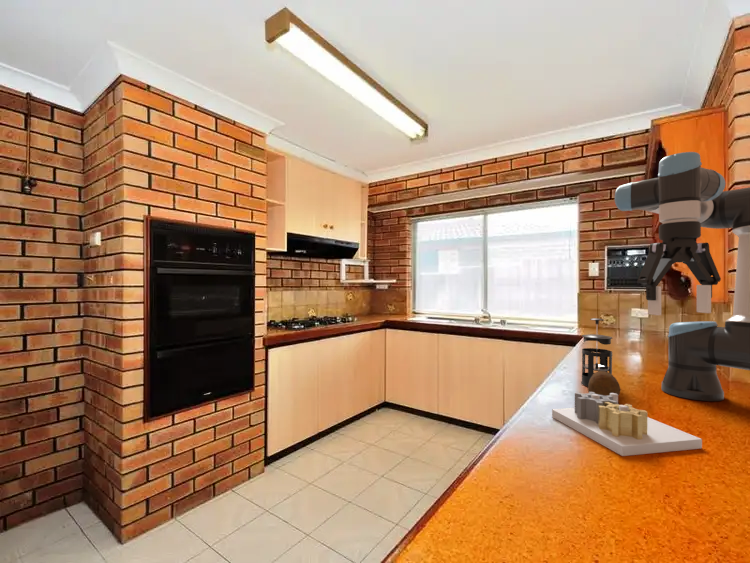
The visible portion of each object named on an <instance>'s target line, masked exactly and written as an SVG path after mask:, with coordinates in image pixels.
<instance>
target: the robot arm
mask: <svg viewBox="0 0 750 563" xmlns="http://www.w3.org/2000/svg"><path fill="white" fill-rule="evenodd" d="M701 160H702V159H701V154H700V153H699V152H695V151H684V152H678V153H674V154H670V155H669V154H668V155H667V156H664V157H663V158H662V159H660V161H659V163H658V172H657V173H658V174H657V177H654V178H649V179H644V180H643V179H642V180H638V181H633V182H632V181H631V182H628V183H625V184H622V185H619V186H618V187H617V188H616V190H615V192H614V203H615V206H616V208H617V209H618V210H620V211H621V212H627V211H629V212H632V211H637V210H640V211H644V212H645V211H646V212H650V213H653V214H658V218H659V219H658V222H660V223H661V224H660V225H659V226H658V238H659V241H662V242H655V243H654V242H653V243H650V244H649V247H648V248H649V250H648V253H647V257H646V260H645V262H644V264H643V266H642V267H641V268H642V269H641V271H640V274H638V275H639V276H638V278H637V280H636V282H637V284H640V285H641V286H642V287H645V299H646V300H647V315H653V316H662V286H658V285H659V284H660V283H661V281H662V280H663V279H664V277H665V276H666V274H667V273H668V272H669V270H670V269H671V267H672V265H675V264H677V263H682V264H684V265H686V266H687V268H688V270H689V271H690V272H691V273H692V275H693V276H694V278H695V280H697V281H698V282H699V284H696V313H703V314H712V298H713V286H717V285H718V284H719V282H721V280H722V278H721V276H720V273H719V270H718V269H717V266H716V264H715V261H714V259H713V257H712V254H711V251H710V244H709V243H710V242H699V243H698V242H697V239H699V238H700V237H701V236H702V234H701V233H702V228H705V229H707V228H708V229H716V230H717V229H719V230H720V229H722V230H723V229H732V231H731V232H732V233H733V234H734V235H735V236H737V237H738V242H737V255H736V257H737V258H736V269H735V270H736V271H735V272H736V273H735V281H734V284H735V285H734V296H733V297H734V298H733V310H732V315H731V317H729V318H727V319H726V320H725V323H724V327H723V326H719V325H718V323H717V321H712V320H711V321H710V320H709V321H707V320H706V321H704V320H703V321H700V320H699V321H681V322H673V323H671V324H670V325H669V326H668V335H667V337H668V346H667V347H668V350H667V352H668V353H667V354H668V365H667V366H668V367H667V369H666V371H665V374H664V376H663V379H662V381H661V391H663V392H664V393H665V394H669V395H671V396H675V397H679V398H683V399H687V400H688V399H689V400H694V401H703V402H704V401H705V402H720V401H724V399H725V392H724V389H723V387H722V384H721V381H720V379H719V377H718V374H717V366H720V367H727V368H733V369H739V370H745V371H750V187H749V186H748V187H744V188H743V187H741V188H737V189H731V190H725V187H726V184H727V183H726V180H725V177H724V176H723V175H722V174H721V173H719V172H718V171H717V170H714V169H709V168H705V167H702V164H703V163H702V162H701Z"/></svg>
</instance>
